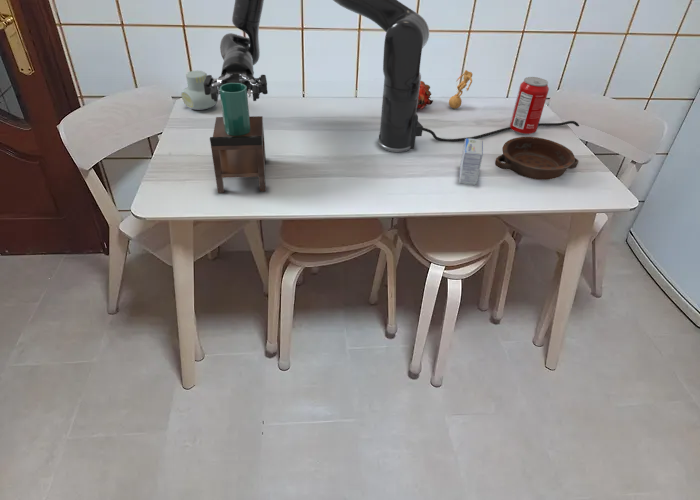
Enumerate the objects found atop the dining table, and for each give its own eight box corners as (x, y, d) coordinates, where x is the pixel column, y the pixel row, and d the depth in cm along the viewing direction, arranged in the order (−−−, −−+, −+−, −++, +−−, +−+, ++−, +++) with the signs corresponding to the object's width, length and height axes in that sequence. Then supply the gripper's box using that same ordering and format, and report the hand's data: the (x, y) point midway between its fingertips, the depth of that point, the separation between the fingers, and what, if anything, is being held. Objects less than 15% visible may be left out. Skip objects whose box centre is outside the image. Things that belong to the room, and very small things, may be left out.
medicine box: (476, 185, 123) (483, 154, 118) (458, 183, 124) (464, 151, 118) (476, 170, 129) (483, 139, 124) (459, 167, 130) (465, 137, 125)
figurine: (443, 103, 163) (449, 65, 155) (460, 102, 164) (467, 65, 156) (453, 113, 156) (460, 75, 149) (471, 112, 158) (478, 74, 150)
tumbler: (250, 124, 118) (247, 82, 111) (250, 135, 113) (246, 92, 107) (225, 124, 117) (220, 82, 111) (224, 136, 113) (218, 92, 106)
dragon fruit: (415, 103, 166) (419, 123, 157) (396, 88, 161) (400, 109, 153) (433, 84, 161) (439, 104, 153) (414, 69, 157) (419, 89, 149)
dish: (482, 153, 137) (486, 136, 134) (558, 151, 139) (564, 135, 136) (505, 187, 123) (510, 169, 120) (589, 184, 126) (596, 167, 123)
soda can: (508, 134, 147) (522, 83, 137) (508, 123, 153) (521, 74, 143) (536, 138, 145) (551, 87, 136) (535, 126, 151) (549, 77, 142)
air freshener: (180, 103, 154) (174, 71, 148) (204, 97, 158) (199, 65, 152) (197, 115, 148) (192, 82, 142) (222, 108, 152) (218, 76, 146)
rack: (265, 160, 129) (261, 109, 120) (265, 191, 118) (261, 137, 109) (222, 161, 128) (215, 109, 119) (217, 193, 116) (209, 138, 108)
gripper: (206, 55, 120) (199, 80, 108) (266, 55, 122) (266, 80, 110) (210, 86, 125) (204, 113, 113) (267, 85, 127) (268, 112, 114)
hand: (235, 97), depth 111 cm, fingers open, 8 cm apart
